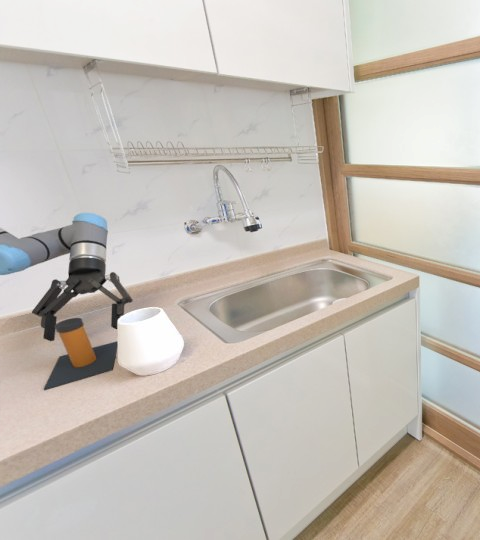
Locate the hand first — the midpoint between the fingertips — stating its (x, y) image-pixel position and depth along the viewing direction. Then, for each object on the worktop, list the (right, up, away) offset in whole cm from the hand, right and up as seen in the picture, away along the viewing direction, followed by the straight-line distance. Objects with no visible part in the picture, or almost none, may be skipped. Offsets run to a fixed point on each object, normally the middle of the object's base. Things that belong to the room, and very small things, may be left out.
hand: (83, 333), depth 86 cm
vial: (+2, -7, -2) cm, 8 cm away
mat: (+2, -7, -2) cm, 8 cm away
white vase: (+21, -7, -3) cm, 23 cm away
